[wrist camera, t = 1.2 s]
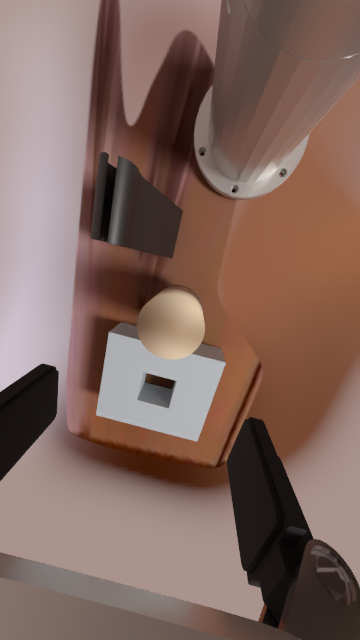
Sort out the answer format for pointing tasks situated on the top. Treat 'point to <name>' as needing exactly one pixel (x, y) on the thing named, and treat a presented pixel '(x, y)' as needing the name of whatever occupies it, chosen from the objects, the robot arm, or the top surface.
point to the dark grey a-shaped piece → (132, 210)
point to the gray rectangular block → (155, 401)
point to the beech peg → (172, 323)
